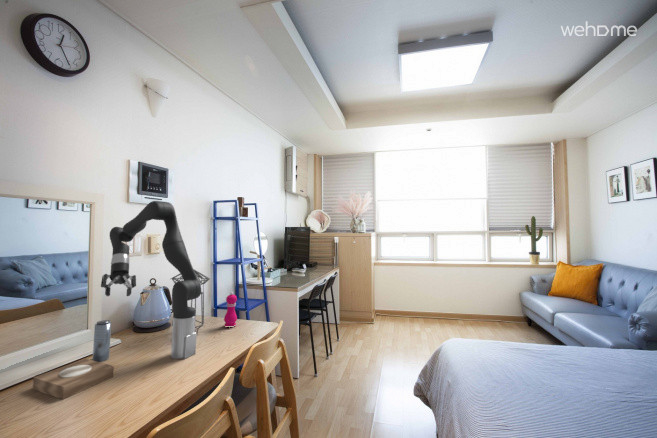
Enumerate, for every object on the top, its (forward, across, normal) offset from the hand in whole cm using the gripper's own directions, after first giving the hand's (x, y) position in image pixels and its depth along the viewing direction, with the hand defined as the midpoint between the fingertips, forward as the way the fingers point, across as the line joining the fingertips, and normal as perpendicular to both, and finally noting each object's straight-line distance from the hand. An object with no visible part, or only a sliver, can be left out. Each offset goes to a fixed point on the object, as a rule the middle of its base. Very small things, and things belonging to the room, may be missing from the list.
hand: (118, 295), depth 141 cm
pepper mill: (+22, +54, -11) cm, 59 cm away
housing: (+28, -6, -3) cm, 29 cm away
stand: (+36, -18, -16) cm, 44 cm away
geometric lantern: (+22, +32, -3) cm, 39 cm away
